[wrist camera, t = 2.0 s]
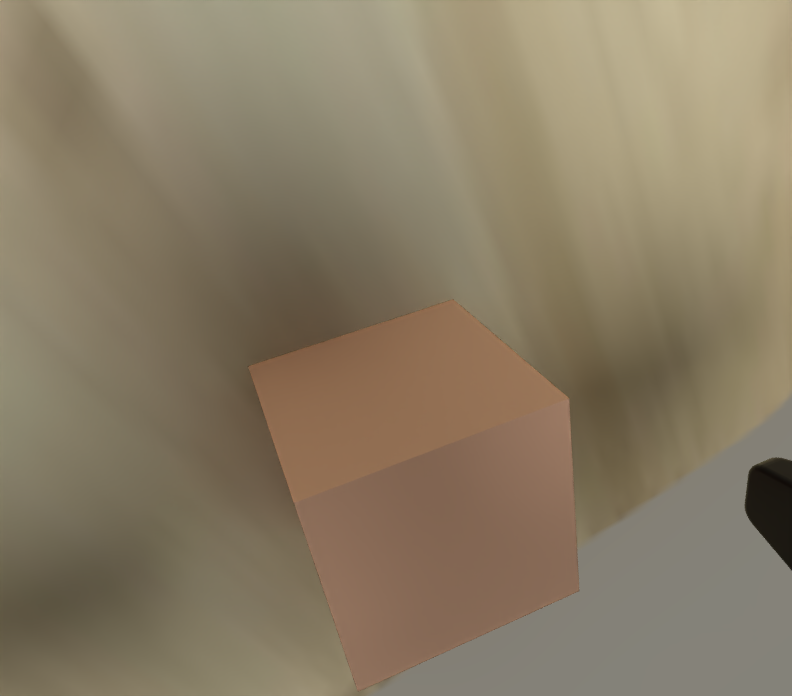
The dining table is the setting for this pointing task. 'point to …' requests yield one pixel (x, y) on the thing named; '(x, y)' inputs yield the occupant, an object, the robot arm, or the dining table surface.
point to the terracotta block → (424, 483)
